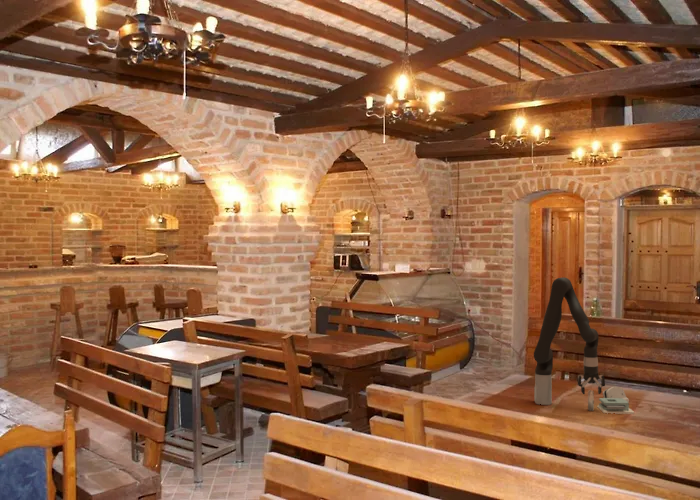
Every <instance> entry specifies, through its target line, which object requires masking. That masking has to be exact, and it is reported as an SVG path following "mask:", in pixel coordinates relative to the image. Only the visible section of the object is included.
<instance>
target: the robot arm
mask: <svg viewBox="0 0 700 500" xmlns="http://www.w3.org/2000/svg"><path fill="white" fill-rule="evenodd" d="M572 284H573V283H572V282H571V280H570V279H569V278H567V277H565V276H564V277H558V278H556V279H554V280H553V281H552V284H551V290H550V297H549V301H548V304H547V306H546V311H545V313H544V317H543V321H542V325H541V329H540V332H539V333H540V334H539V338H538V341H537V343H536V346H535V349H534V351H533V359H534V360H535V361H536V366H535V369H534V377H535V378H534V381H535V382H534V383H535V384H534V389H533V390H534V391H533V392H534V397H533V398H534V403H535V405H540V404H541V405H540V406H550V405H552V404H553V402H552V401H553V400H552V399H553V396H552V395H553V394H552V393H553V392H552V391H553V389H552V388H553V387H552V386H553V383H552V380H553V379H552V377H553V375H552V372H553V369H554V367H553V365H554V364H553V363H554V354H553V353H554V352H553V350H552V348H551V346H552V342H553V341H554V338H555V336H556V334H557V332H558V330H559V328H560V325H561V321H562V317H563V315H562V314H563V311H562V310H563V309H562V307H563V301H564V298H565V300H566V303H567V306H568V308H569V312H570V315H571V316H572V319H573V321H574V322H575V324H576V326H577V328H578V331H579V334H580V337H581V338H582V340H583V341H584V342H585V346H584V348H583V375H582V374H578V375H577V386H578V387H580V388H581V389H580V390H581V391H580V392H581V393H582V394H583V395H585V393H586V392H585V391H586V389H585V387H586V385H588V384H596V385H597V386H598V387H597V394H598V395H601V393H603V391H602V387H603V388H604V387H606V379H605V378H606V377H605V376H604V374H601V375H599V359H598V346H599V338H600V337H599V332H598V331H597V329H595V328H591V326H590V319H589V318H588V316H587V314H586V312H585V311H584V308H583V307H582V305H581V304H580V301H579V299H578V297H577V294H576V292H575V289H574V286H573V285H572ZM583 379H584V380H583ZM599 379H600V381H601V383H600V381H598V380H599ZM582 380H583V381H582Z"/></svg>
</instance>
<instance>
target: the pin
mask: <svg viewBox="0 0 700 500" xmlns="http://www.w3.org/2000/svg"><path fill="white" fill-rule="evenodd" d="M594 393H595V392H594V390H592V389H591V390H590V389H589V390H587V411H589V412H594V410H595V409H594V407H595V405H594V404H595V400H594V398H595V397H594V396H595V394H594Z"/></svg>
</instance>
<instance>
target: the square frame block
mask: <svg viewBox="0 0 700 500" xmlns="http://www.w3.org/2000/svg"><path fill="white" fill-rule="evenodd" d="M598 401H599V403H598V405H596V407H597V409H598V410H600V411H601V412H602V413H603V414H605V413H607V415H609V414H608V413H611V414H612V415H613V413H615V414H616V415H617V414H619V415H620V414H621V415H623V414H624V415H635V411H634V410H633V409H632V408H631V407H630V406H629V404H630V403H629V402H627V401H626V400H624V399H623V398H604V397H599V398H598ZM611 414H610V415H611Z"/></svg>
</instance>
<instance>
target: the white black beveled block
mask: <svg viewBox="0 0 700 500" xmlns="http://www.w3.org/2000/svg"><path fill="white" fill-rule="evenodd" d="M602 398H623V399H624V400H626V401H627V402H628V403H629V402H630V400H629V398H628V397H627V395H626V392H625V391H624V387H620V386H612V387H611V386H610V387H609V388H606V389H605V390H603V391H602Z"/></svg>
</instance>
